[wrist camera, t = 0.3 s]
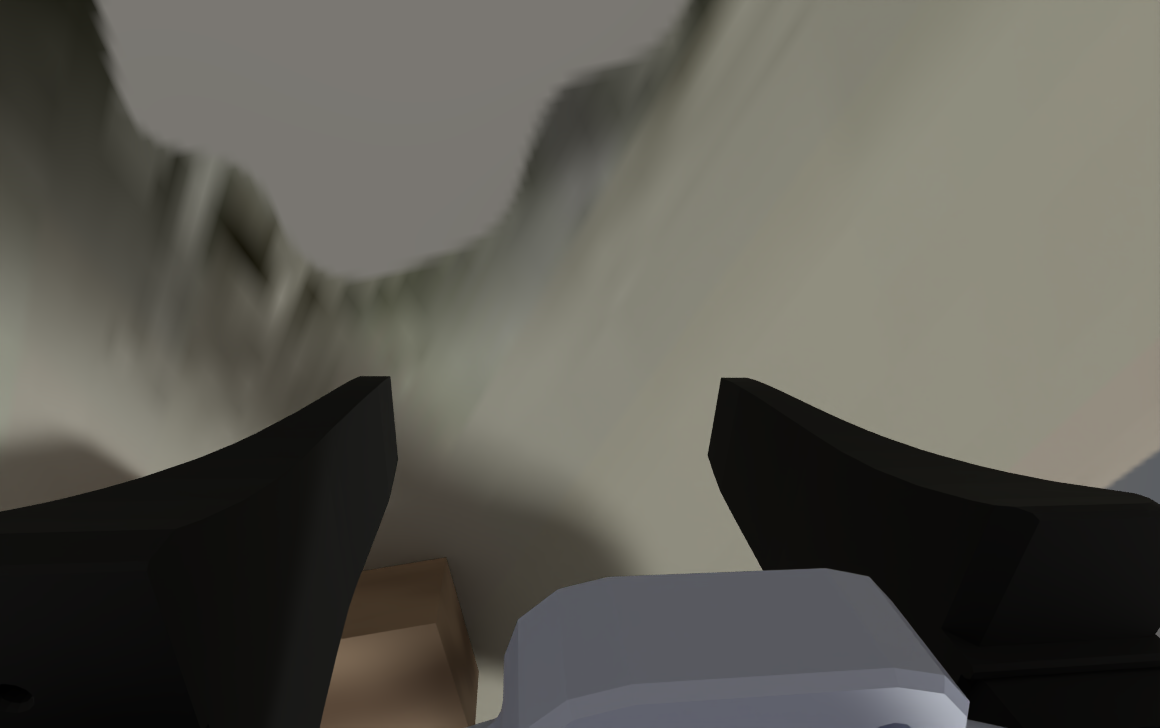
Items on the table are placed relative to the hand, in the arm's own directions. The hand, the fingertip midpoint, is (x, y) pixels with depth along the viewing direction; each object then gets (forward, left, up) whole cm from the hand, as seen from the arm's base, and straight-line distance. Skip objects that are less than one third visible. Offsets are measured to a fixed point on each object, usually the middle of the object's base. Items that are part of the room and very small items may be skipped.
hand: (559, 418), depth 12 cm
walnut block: (-16, +10, -10) cm, 22 cm away
